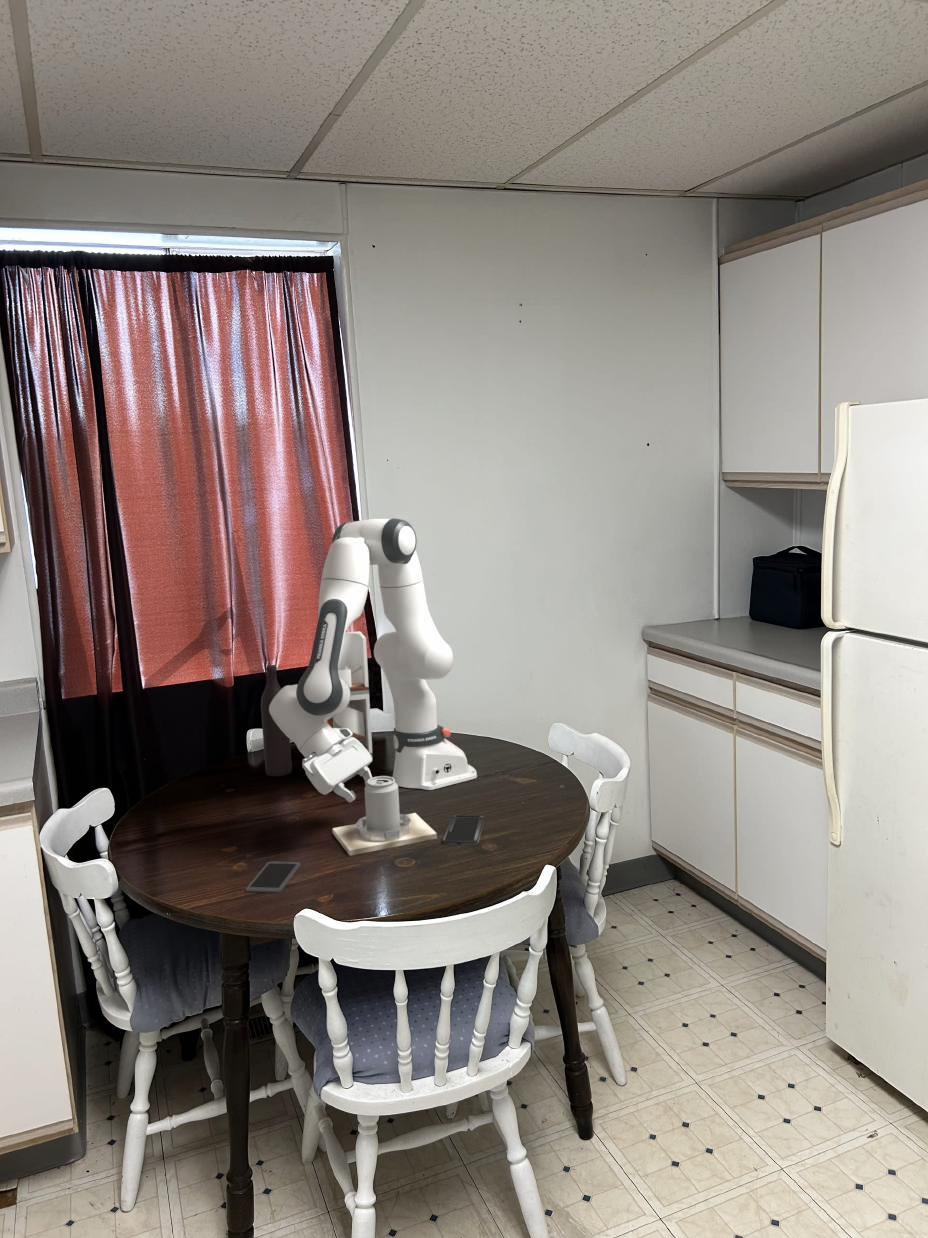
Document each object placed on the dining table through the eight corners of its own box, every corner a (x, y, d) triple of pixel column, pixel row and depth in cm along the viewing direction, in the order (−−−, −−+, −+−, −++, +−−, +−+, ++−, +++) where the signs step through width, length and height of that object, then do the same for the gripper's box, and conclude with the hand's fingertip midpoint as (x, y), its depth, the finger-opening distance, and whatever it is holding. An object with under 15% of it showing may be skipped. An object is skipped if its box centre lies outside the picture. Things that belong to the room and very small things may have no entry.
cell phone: (244, 894, 188) (243, 890, 187) (268, 864, 201) (268, 861, 201) (279, 895, 186) (279, 891, 186) (301, 865, 200) (301, 861, 200)
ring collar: (400, 817, 221) (400, 809, 220) (418, 835, 210) (417, 826, 209) (350, 826, 216) (350, 818, 216) (366, 845, 205) (365, 836, 205)
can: (405, 826, 215) (402, 775, 213) (393, 838, 208) (390, 786, 206) (374, 823, 217) (371, 773, 215) (361, 836, 210) (358, 784, 208)
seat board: (415, 817, 223) (415, 812, 223) (436, 838, 210) (436, 833, 210) (332, 833, 216) (332, 828, 215) (349, 855, 203) (349, 850, 203)
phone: (485, 816, 221) (477, 841, 206) (485, 820, 221) (477, 846, 206) (451, 815, 222) (441, 841, 207) (451, 820, 222) (441, 845, 207)
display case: (330, 752, 277) (323, 634, 271) (367, 748, 279) (360, 631, 273) (335, 763, 266) (327, 641, 260) (372, 759, 268) (365, 638, 262)
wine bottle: (297, 771, 261) (290, 664, 256) (279, 778, 255) (271, 669, 250) (278, 767, 264) (270, 662, 259) (260, 774, 258) (252, 667, 254)
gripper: (306, 752, 204) (349, 800, 202) (352, 726, 223) (391, 770, 221) (290, 770, 207) (332, 817, 205) (336, 743, 226) (375, 786, 224)
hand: (363, 792), depth 213 cm, fingers open, 8 cm apart
